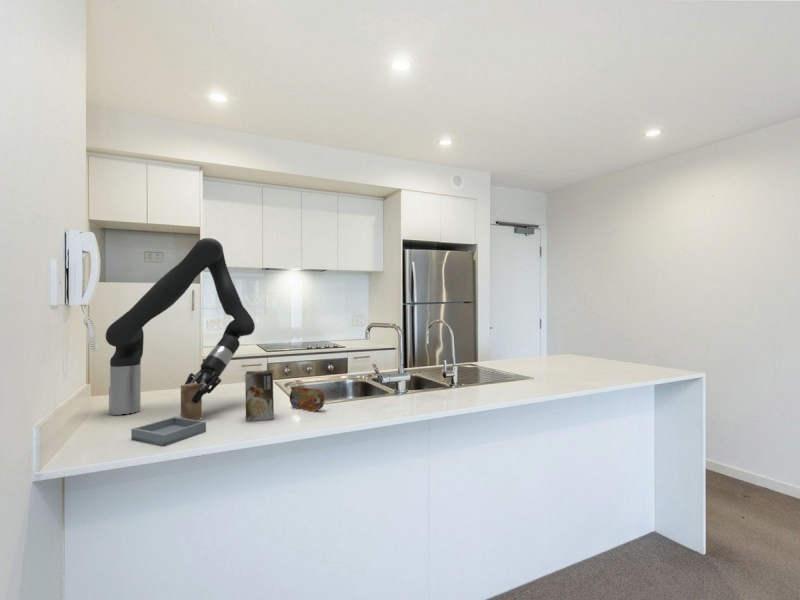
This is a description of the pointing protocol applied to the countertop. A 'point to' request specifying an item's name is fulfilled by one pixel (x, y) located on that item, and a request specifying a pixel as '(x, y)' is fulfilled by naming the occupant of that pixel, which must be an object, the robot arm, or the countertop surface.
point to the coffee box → (259, 395)
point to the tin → (307, 398)
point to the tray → (168, 431)
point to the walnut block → (190, 402)
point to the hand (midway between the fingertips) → (188, 401)
